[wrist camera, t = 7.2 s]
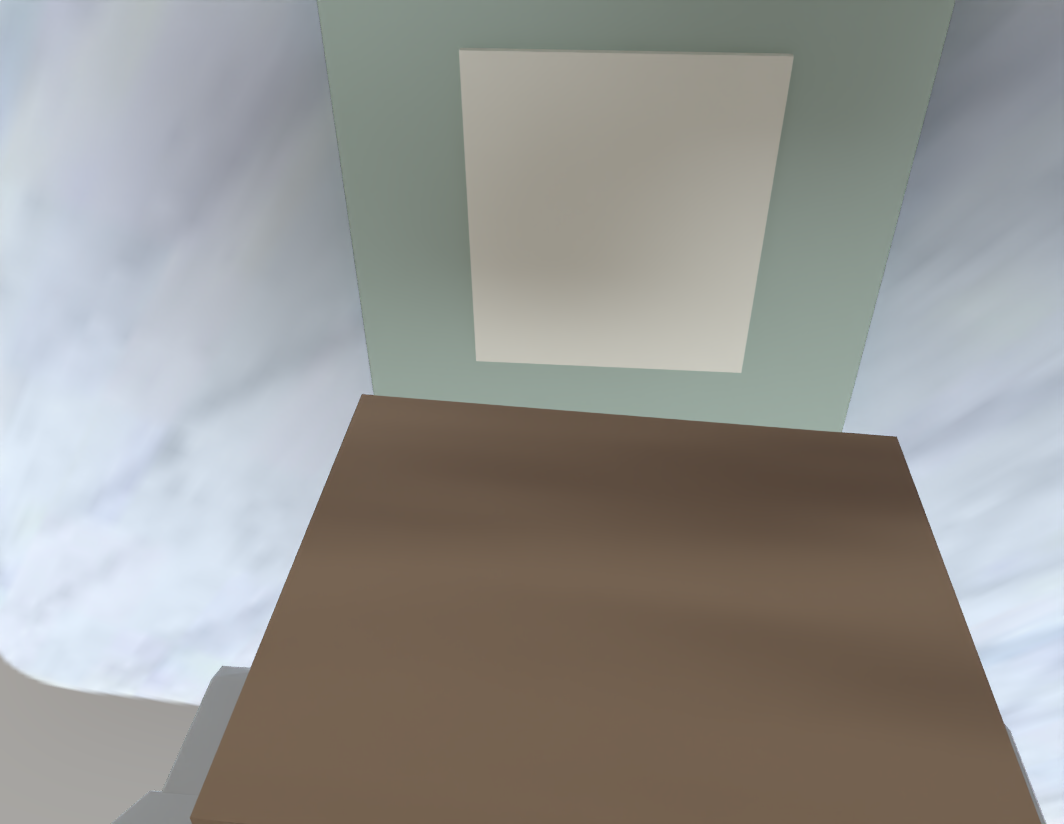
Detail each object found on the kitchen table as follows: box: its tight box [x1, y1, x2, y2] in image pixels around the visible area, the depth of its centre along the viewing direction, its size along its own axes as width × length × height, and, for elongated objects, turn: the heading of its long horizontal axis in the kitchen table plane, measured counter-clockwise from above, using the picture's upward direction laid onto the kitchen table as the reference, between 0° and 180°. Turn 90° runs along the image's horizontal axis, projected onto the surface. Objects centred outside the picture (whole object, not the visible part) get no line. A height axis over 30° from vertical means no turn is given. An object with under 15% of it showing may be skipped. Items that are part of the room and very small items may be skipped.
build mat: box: [317, 0, 955, 432], centre depth 22 cm, size 13×13×1 cm
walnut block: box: [190, 394, 1041, 824], centre depth 10 cm, size 7×6×5 cm
